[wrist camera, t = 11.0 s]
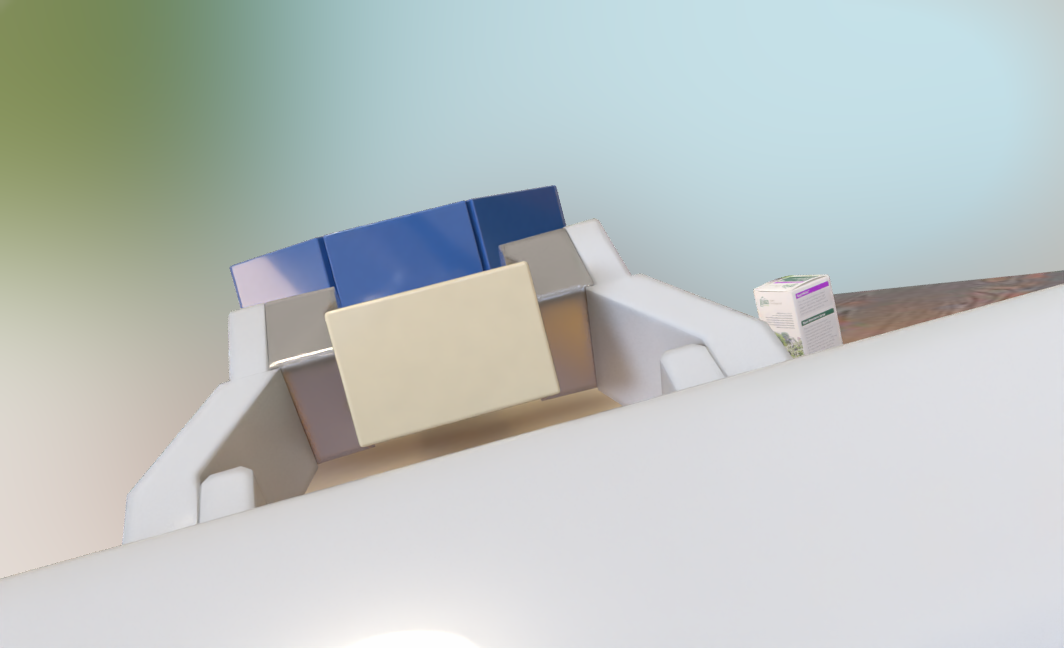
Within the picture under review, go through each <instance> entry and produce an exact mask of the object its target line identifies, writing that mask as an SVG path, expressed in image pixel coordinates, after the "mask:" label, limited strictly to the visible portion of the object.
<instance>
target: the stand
mask: <svg viewBox="0 0 1064 648" xmlns="http://www.w3.org/2000/svg"><path fill="white" fill-rule="evenodd" d="M621 406H622V405H621V404H619V403H618V402H616V401H614V400H613V399H611V398H610V397H608V396H607V395H605V394H604V393H602V392H600V391H599V390H598V388H594V389H589V390H585V391H581V392H577V393H573V394H569V395H565V396H561V397H557V398H553V399H549V400H545V401H541V399H538V400H535V401H531V402H527V403H524V404H520V405H516V406H513V407H509V408H505V409H502V410H498V411H495V412H491V413H487V414H484V415H480V416H476V417H473V418H469V419H465V420H462V421H458V422H454V423H451V424H447V425H444V426H440V427H436V428H433V429H429V430H425V431H422V432H418V433H414V434H411V435H407V436H403V437H400V438H396V439H392V440H389V441H385V442H382V443H378V444H375V447H373V448H370V449H367V450H363V451H360V452H357V453H353V454H350V455H347V456H343V457H340V458H337V459H333V460H330V461H327V462H324V463H320V464H317V465H318V469H317V471H316V473H315V475H314V477H313V479H312V480H311V482H310V484H309V486H308V488H307V490H306V492H305V494H307V493H311V492H314V491H318V490H321V489H325V488H329V487H332V486H336V485H339V484H343V483H347V482H350V481H354V480H357V479H361V478H365V477H368V476H372V475H375V474H379V473H383V472H386V471H390V470H393V469H397V468H401V467H404V466H408V465H411V464H415V463H419V462H422V461H426V460H430V459H433V458H437V457H440V456H444V455H448V454H451V453H455V452H458V451H462V450H466V449H469V448H473V447H476V446H480V445H484V444H487V443H491V442H494V441H498V440H502V439H505V438H509V437H512V436H516V435H520V434H523V433H527V432H530V431H534V430H538V429H541V428H545V427H548V426H552V425H556V424H559V423H563V422H566V421H570V420H574V419H577V418H581V417H585V416H588V415H592V414H595V413H599V412H603V411H606V410H610V409H613V408H617V407H621Z"/></svg>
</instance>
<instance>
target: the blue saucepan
mask: <svg viewBox="0 0 1064 648" xmlns="http://www.w3.org/2000/svg"><path fill="white" fill-rule="evenodd" d="M563 227H566V223H565V219H564V216H563V211H562V208H561V204H560V200H559V196H558V192H557V188H556V186H553V185H552V186H546V187H539V188H534V189H527V190H521V191H515V192H510V193H503V194H497V195H491V196H485V197H480V198H473V199H469V200H466V201H460V202H456V203H452V204H448V205H443V206H440V207H435V208H432V209H428V210H423V211H419V212H416V213H411V214H407V215H403V216H399V217H396V218H391V219H387V220H383V221H379V222H375V223H371V224H367V225H364V226H359V227H355V228H351V229H347V230H343V231H339V232H335V233H331V234H327V235H324V236H321V237H316V238H313V239H310V240H307V241H304V242H301V243H298V244H295V245H292V246H289V247H286V248H283V249H280V250H277V251H274V252H271V253H268V254H265V255H262V256H259V257H256V258H253V259H250V260H247V261H244V262H240V263H238V264H234V265H232V266H231V267H230V271H231V275H232V278H233V282H234V286H235V289H236V293H237V297H238V300H239V304H240V308H245V307H249V306H253V305H257V304H260V303H265V304H266V302H269V301H274V300H278V299H282V298H287V297H291V296H295V295H299V294H304V293H308V292H312V291H317V290H321V289H325V288H329V287H335V290H336V292H337V295H338V298H339V301H340V303H341V306H342V308H338V309H335V310H331V311H328V312H326V313H325V316H324V317H325V321H326V325H327V328H328V332H329V336H330V339H331V343H332V347H333V350H334V354H335V358H336V362H337V365H338V369H339V373H340V376H341V380H342V384H343V387H344V391H345V395H346V398H347V402H348V406H349V409H350V413H351V417H352V421H353V424H354V428H355V432H356V435H357V439H358V443H359V445H360V446H361V447H367V446H371V445H374V444H378V443H382V442H385V441H389V440H392V439H396V438H400V437H403V436H407V435H411V434H414V433H418V432H422V431H425V430H429V429H433V428H436V427H440V426H444V425H447V424H451V423H454V422H458V421H462V420H465V419H469V418H473V417H476V416H480V415H484V414H487V413H491V412H495V411H498V410H502V409H505V408H509V407H513V406H516V405H520V404H524V403H527V402H531V401H535V400H538V399H542V398H546V397H549V396H553V395H557V394H558V393H560V385H559V381H558V377H557V373H556V369H555V365H554V362H553V358H552V354H551V350H550V346H549V342H548V338H547V334H546V330H545V326H544V323H543V319H542V315H541V311H540V307H539V303H538V299H537V295H536V291H535V287H534V284H533V280H532V276H531V272H530V268H529V264H528V263H527V262H526V261H522V262H518V263H514V264H509V265H505V266H501V264H500V258H499V250H498V246H499V245H502V244H506V243H510V242H513V241H517V240H521V239H524V238H528V237H532V236H535V235H539V234H543V233H546V232H550V231H554V230H557V229H561V228H563Z"/></svg>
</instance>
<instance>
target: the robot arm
mask: <svg viewBox="0 0 1064 648" xmlns="http://www.w3.org/2000/svg"><path fill="white" fill-rule="evenodd" d="M498 250H499V258H500V264H501V266H505V265H509V264H514V263H518V262H522V261H526V262H527V263H528V264H529V268H530V272H531V276H532V280H533V284H534V287H535V291H536V295H537V299H538V303H539V307H540V311H541V315H542V319H543V323H544V326H545V330H546V334H547V338H548V342H549V346H550V350H551V354H552V358H553V362H554V365H555V369H556V373H557V377H558V381H559V385H560V393H558V394H557V395H553V396H549V397H546V398H542V399H541V401H545V400H549V399H553V398H557V397H561V396H565V395H569V394H573V393H577V392H581V391H585V390H589V389H594V388H598V390H599V391H600V392H602V393H604V394H605V395H607V396H608V397H610V398H611V399H613V400H614V401H616V402H618V403H619V404H621V405H622V406H621V407H617V408H613V409H610V410H606V411H603V412H599V413H595V414H592V415H588V416H585V417H581V418H577V419H574V420H570V421H566V422H563V423H559V424H556V425H552V426H548V427H545V428H541V429H538V430H534V431H530V432H527V433H523V434H520V435H516V436H512V437H509V438H505V439H502V440H498V441H494V442H491V443H487V444H484V445H480V446H476V447H473V448H469V449H466V450H462V451H458V452H455V453H451V454H448V455H444V456H440V457H437V458H433V459H430V460H426V461H422V462H419V463H415V464H411V465H408V466H404V467H401V468H397V469H393V470H390V471H386V472H383V473H379V474H375V475H372V476H368V477H365V478H361V479H357V480H354V481H350V482H347V483H343V484H339V485H336V486H332V487H329V488H325V489H321V490H318V491H314V492H311V493H307V494H305V492H306V490H307V488H308V486H309V484H310V482H311V480H312V479H313V477H314V475H315V473H316V471H317V469H318V465H317V464H320V463H324V462H327V461H330V460H333V459H337V458H340V457H343V456H347V455H350V454H353V453H357V452H360V451H363V450H367V449H370V448H373V447H375V444H374V445H371V446H367V447H361V446H360V445H359V443H358V439H357V435H356V432H355V428H354V424H353V421H352V417H351V413H350V409H349V406H348V402H347V398H346V395H345V391H344V387H343V384H342V380H341V376H340V373H339V369H338V365H337V362H336V358H335V354H334V350H333V347H332V343H331V339H330V336H329V332H328V328H327V325H326V321H325V317H324V316H325V313H326V312H328V311H331V310H335V309H338V308H342V306H341V303H340V301H339V298H338V295H337V292H336V290H335V287H329V288H325V289H321V290H317V291H312V292H308V293H304V294H299V295H295V296H291V297H287V298H282V299H278V300H274V301H269V302H266V304H265V303H260V304H257V305H253V306H249V307H245V308H241V309H238V310H234V311H231V313H230V314H229V316H228V333H229V334H228V336H229V381H228V382H224V383H221V384H219V385H218V386H217V388H216V389H215V390H214V391H213V392H212V394H211V395H210V396H209V397H208V399H207V400H206V401H205V402H204V403H203V405H202V406H201V407H200V408H199V409H198V411H197V412H196V413H195V414H194V415H193V416H192V418H191V419H190V420H189V421H188V423H187V424H186V425H185V426H184V427H183V428H182V430H181V431H180V432H179V433H178V435H177V436H176V437H175V438H174V439H173V441H172V442H171V443H170V444H169V445H168V446H167V448H166V449H165V450H164V451H163V452H162V454H161V455H160V456H159V457H158V458H157V460H156V461H155V462H154V463H153V464H152V466H151V467H150V468H149V469H148V470H147V472H146V473H145V474H144V475H143V476H142V478H141V479H140V480H139V481H138V482H137V484H136V485H135V486H134V487H133V488H132V490H131V491H130V492H129V493H128V494H127V501H126V510H125V511H126V512H125V521H124V531H123V540H122V541H123V542H122V545H120V546H116V547H112V548H109V549H105V550H101V551H98V552H94V553H91V554H87V555H83V556H80V557H76V558H73V559H69V560H65V561H62V562H59V563H55V564H51V565H47V566H44V567H40V568H37V569H33V570H29V571H26V572H22V573H19V574H15V575H11V576H8V577H4V578H1V579H0V648H1064V284H1061V285H1057V286H1054V287H1050V288H1046V289H1043V290H1039V291H1036V292H1032V293H1028V294H1025V295H1021V296H1018V297H1014V298H1010V299H1007V300H1003V301H999V302H996V303H992V304H989V305H985V306H981V307H978V308H974V309H971V310H967V311H963V312H960V313H956V314H952V315H949V316H945V317H942V318H938V319H934V320H931V321H927V322H924V323H920V324H916V325H913V326H909V327H905V328H902V329H898V330H895V331H891V332H887V333H884V334H880V335H877V336H873V337H869V338H866V339H862V340H858V341H855V342H851V343H848V344H844V345H840V346H837V347H833V348H830V349H826V350H822V351H819V352H815V353H811V354H808V355H804V356H801V357H797V358H792V356H791V355H790V353H789V352H788V351H787V349H786V348H785V347H784V345H783V344H782V342H781V341H780V340H779V338H778V337H777V336H776V334H775V333H774V331H773V330H772V329H771V327H770V326H769V325H768V323H767V322H766V321H763V320H760V319H757V318H755V317H753V316H750V315H747V314H745V313H742V312H739V311H737V310H734V309H732V308H729V307H727V306H724V305H721V304H719V303H716V302H714V301H711V300H708V299H706V298H703V297H700V296H698V295H695V294H693V293H690V292H688V291H685V290H682V289H680V288H677V287H674V286H672V285H669V284H667V283H664V282H661V281H659V280H656V279H654V278H651V277H648V276H646V275H643V274H636V275H631V273H630V272H629V270H628V269H627V267H626V265H625V263H624V262H623V260H622V259H621V257H620V255H619V253H618V252H617V250H616V248H615V247H614V245H613V244H612V242H611V240H610V238H609V237H608V235H607V233H606V232H605V230H604V228H603V227H602V225H601V223H600V222H599V220H597V219H595V218H593V219H590V220H586V221H583V222H580V223H576V224H573V225H569V226H566V227H563V228H561V229H557V230H554V231H550V232H546V233H543V234H539V235H535V236H532V237H528V238H524V239H521V240H517V241H513V242H510V243H506V244H502V245H499V246H498Z"/></svg>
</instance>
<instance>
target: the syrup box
mask: <svg viewBox="0 0 1064 648" xmlns="http://www.w3.org/2000/svg"><path fill="white" fill-rule="evenodd" d="M753 290H754V296H755V301H756V305H757V310H758V314H759V319H760V320H763V321H766V322H767V323H768V325H769V326H770V327H771V329H772V330H773V331H774V333H775V334H776V336H777V337H778V338H779V340H780V341H781V342H782V344H783V345H784V347H785V348H786V349H787V351H788V352H789V353H790V355H791V356H792V358H797V357H801V356H804V355H808V354H811V353H815V352H819V351H822V350H826V349H830V348H833V347H837V346H840V345H843V342H842V337H841V332H840V327H839V322H838V317H837V312H836V307H835V301H834V296H833V292H832V287H831V282H830V278H829V275H797V276H785V277H781V278H778V279H775V280H772V281H770V282H767V283H765V284H764V285H761V286H760V287H758V288H756V289H753Z"/></svg>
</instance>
